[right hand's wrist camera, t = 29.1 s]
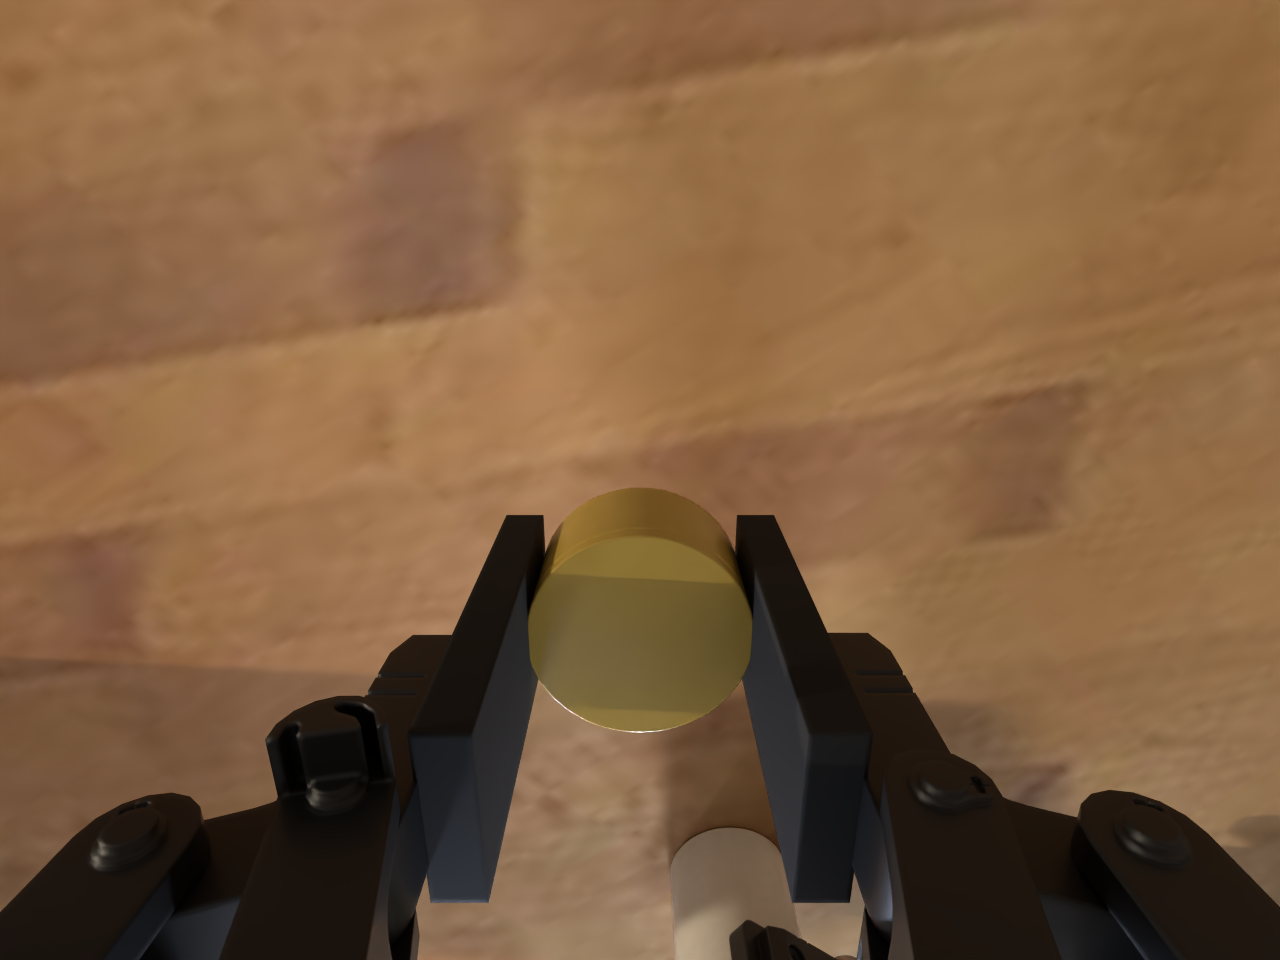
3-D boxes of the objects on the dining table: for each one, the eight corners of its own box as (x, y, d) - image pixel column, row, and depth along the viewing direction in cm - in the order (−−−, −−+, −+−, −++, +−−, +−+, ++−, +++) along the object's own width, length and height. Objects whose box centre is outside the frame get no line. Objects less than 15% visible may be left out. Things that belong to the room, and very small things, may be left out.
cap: (526, 638, 15) (507, 709, 13) (564, 466, 14) (549, 512, 12) (707, 675, 15) (719, 751, 13) (762, 510, 14) (784, 564, 12)
